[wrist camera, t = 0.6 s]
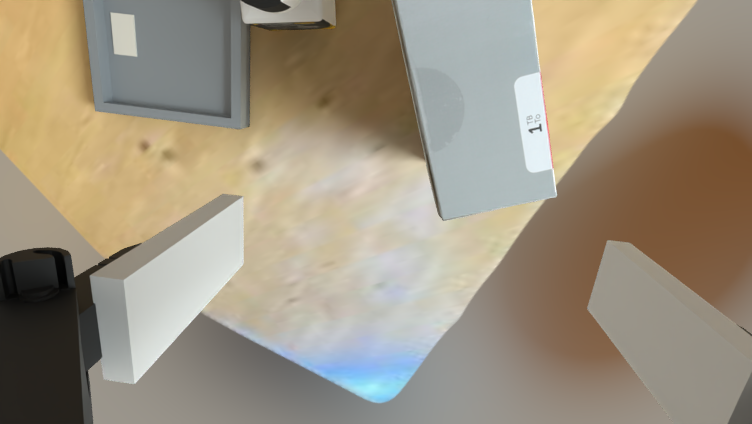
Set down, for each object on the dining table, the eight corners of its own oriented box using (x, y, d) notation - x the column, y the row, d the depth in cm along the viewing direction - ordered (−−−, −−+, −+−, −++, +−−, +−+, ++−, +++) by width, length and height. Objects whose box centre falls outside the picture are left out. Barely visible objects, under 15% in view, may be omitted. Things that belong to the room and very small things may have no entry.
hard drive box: (497, 147, 44) (559, 203, 26) (427, 163, 46) (436, 227, 27) (472, -9, 40) (524, -81, 21) (395, 13, 41) (379, -36, 22)
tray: (95, -54, 42) (76, -62, 39) (250, -38, 41) (240, -44, 38) (111, 109, 47) (95, 111, 44) (249, 126, 46) (240, 129, 44)
